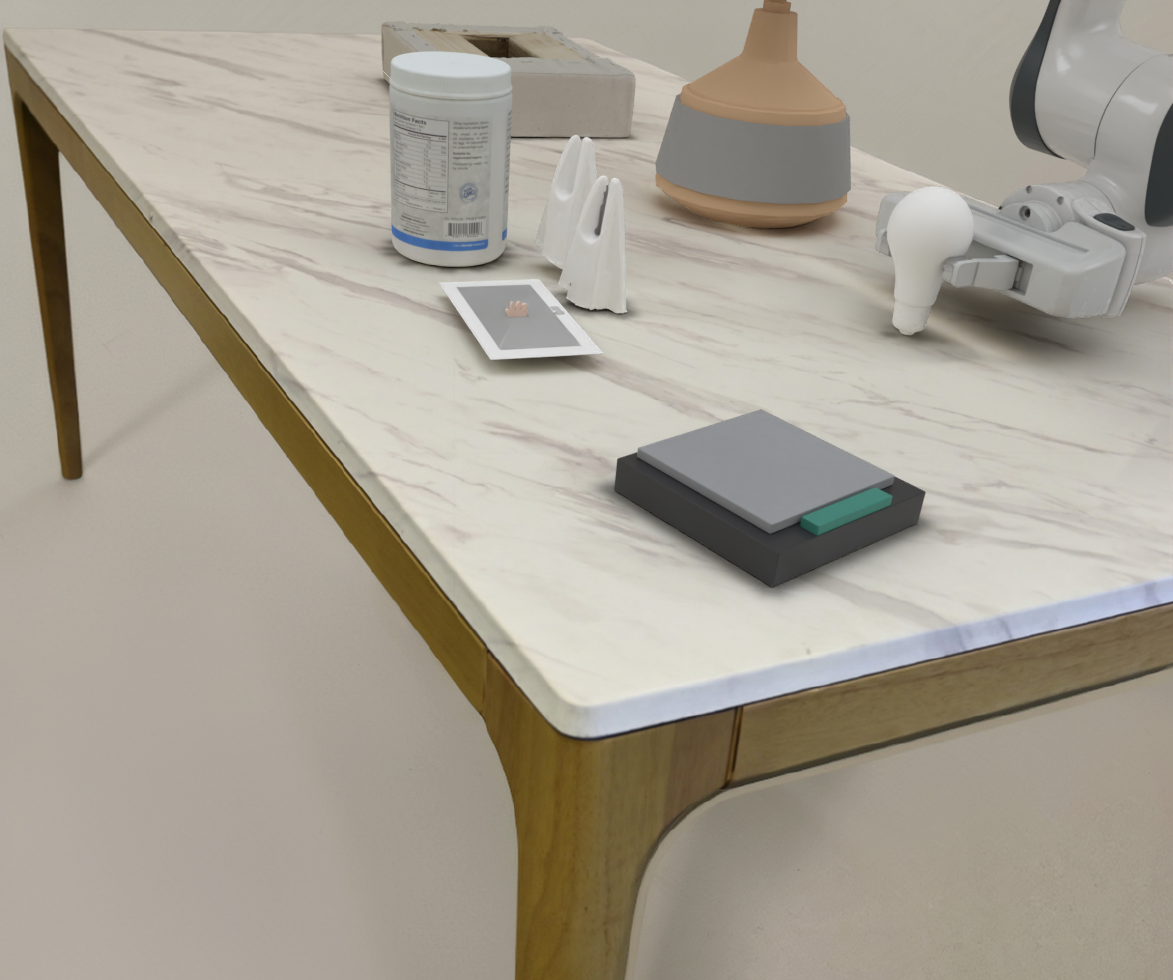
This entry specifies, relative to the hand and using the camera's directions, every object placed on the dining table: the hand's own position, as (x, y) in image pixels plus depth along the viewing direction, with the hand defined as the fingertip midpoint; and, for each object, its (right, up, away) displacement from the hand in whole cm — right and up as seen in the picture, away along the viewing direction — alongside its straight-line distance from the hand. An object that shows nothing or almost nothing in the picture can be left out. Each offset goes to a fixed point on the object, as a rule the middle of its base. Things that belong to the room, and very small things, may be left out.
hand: (915, 257), depth 90 cm
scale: (-14, -20, -22) cm, 32 cm away
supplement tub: (-36, +3, +12) cm, 38 cm away
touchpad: (-29, -6, -2) cm, 30 cm away
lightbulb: (0, -5, +4) cm, 6 cm away
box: (-35, +35, +61) cm, 78 cm away
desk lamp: (-8, +13, +30) cm, 34 cm away
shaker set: (-25, -1, +7) cm, 26 cm away
